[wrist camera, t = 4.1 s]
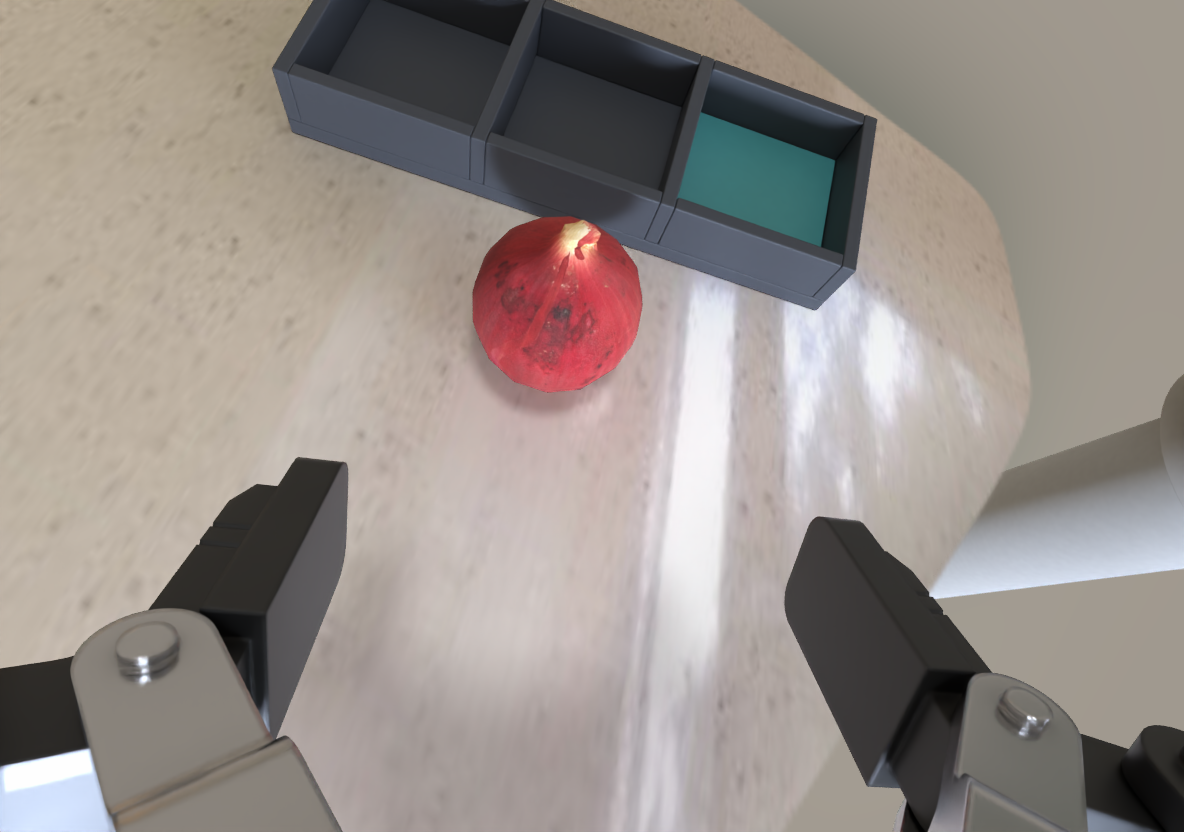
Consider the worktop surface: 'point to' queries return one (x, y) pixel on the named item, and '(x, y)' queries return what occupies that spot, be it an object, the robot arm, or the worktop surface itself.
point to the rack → (592, 131)
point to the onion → (557, 303)
